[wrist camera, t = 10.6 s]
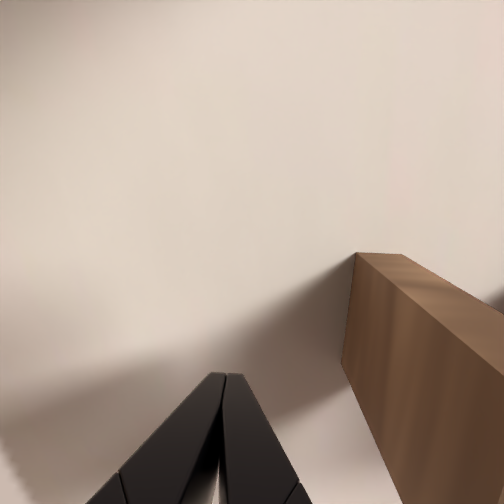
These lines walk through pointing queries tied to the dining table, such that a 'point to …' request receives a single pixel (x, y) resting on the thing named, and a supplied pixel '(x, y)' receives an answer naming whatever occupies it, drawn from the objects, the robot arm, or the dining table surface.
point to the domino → (427, 380)
